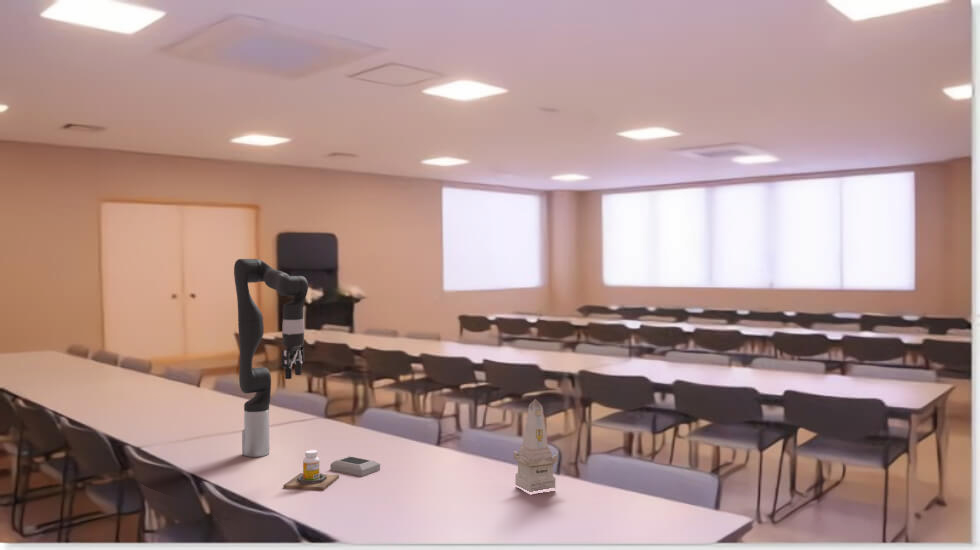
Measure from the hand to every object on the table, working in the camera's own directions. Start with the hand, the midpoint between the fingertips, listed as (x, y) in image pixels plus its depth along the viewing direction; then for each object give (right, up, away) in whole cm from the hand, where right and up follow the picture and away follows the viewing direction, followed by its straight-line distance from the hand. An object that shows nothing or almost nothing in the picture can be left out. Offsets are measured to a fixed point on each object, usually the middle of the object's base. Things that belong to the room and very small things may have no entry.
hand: (293, 376), depth 272 cm
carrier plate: (+10, -34, -16) cm, 39 cm away
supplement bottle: (+10, -33, -16) cm, 38 cm away
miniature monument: (+85, -34, -22) cm, 95 cm away
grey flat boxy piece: (+22, -34, 0) cm, 40 cm away
